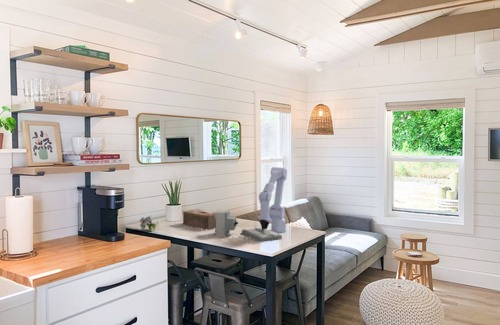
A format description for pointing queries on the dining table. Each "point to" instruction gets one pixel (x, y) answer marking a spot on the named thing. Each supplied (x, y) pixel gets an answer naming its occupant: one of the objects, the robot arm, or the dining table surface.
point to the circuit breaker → (224, 222)
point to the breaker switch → (267, 232)
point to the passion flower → (147, 223)
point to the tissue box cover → (199, 219)
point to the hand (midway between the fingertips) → (264, 231)
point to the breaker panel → (260, 234)
